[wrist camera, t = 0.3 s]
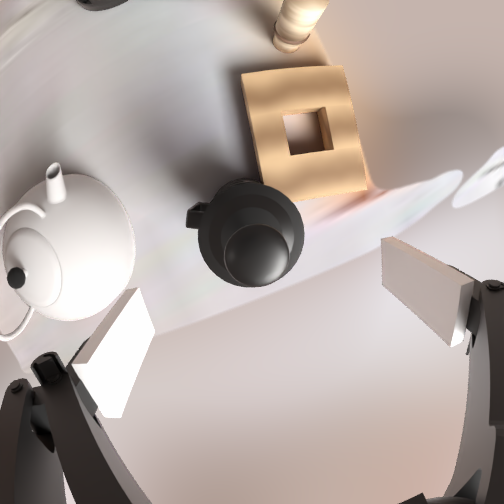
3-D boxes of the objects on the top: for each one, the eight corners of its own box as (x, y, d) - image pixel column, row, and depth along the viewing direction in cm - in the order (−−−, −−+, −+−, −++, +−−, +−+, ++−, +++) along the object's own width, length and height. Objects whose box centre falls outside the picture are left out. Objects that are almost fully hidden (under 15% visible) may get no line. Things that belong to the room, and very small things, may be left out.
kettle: (44, 145, 35) (-57, 145, 13) (159, 184, 39) (82, 204, 17) (22, 277, 41) (-54, 332, 19) (120, 326, 45) (65, 418, 23)
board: (240, 82, 35) (241, 74, 31) (333, 73, 35) (342, 65, 31) (265, 203, 40) (268, 206, 36) (355, 187, 40) (367, 189, 37)
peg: (266, 30, 33) (281, -20, 19) (298, 28, 33) (323, -19, 19) (273, 56, 34) (291, 11, 21) (305, 54, 34) (335, 12, 21)
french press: (287, 184, 39) (351, 197, 17) (276, 248, 42) (321, 329, 20) (203, 173, 38) (163, 170, 16) (195, 238, 41) (155, 312, 19)
